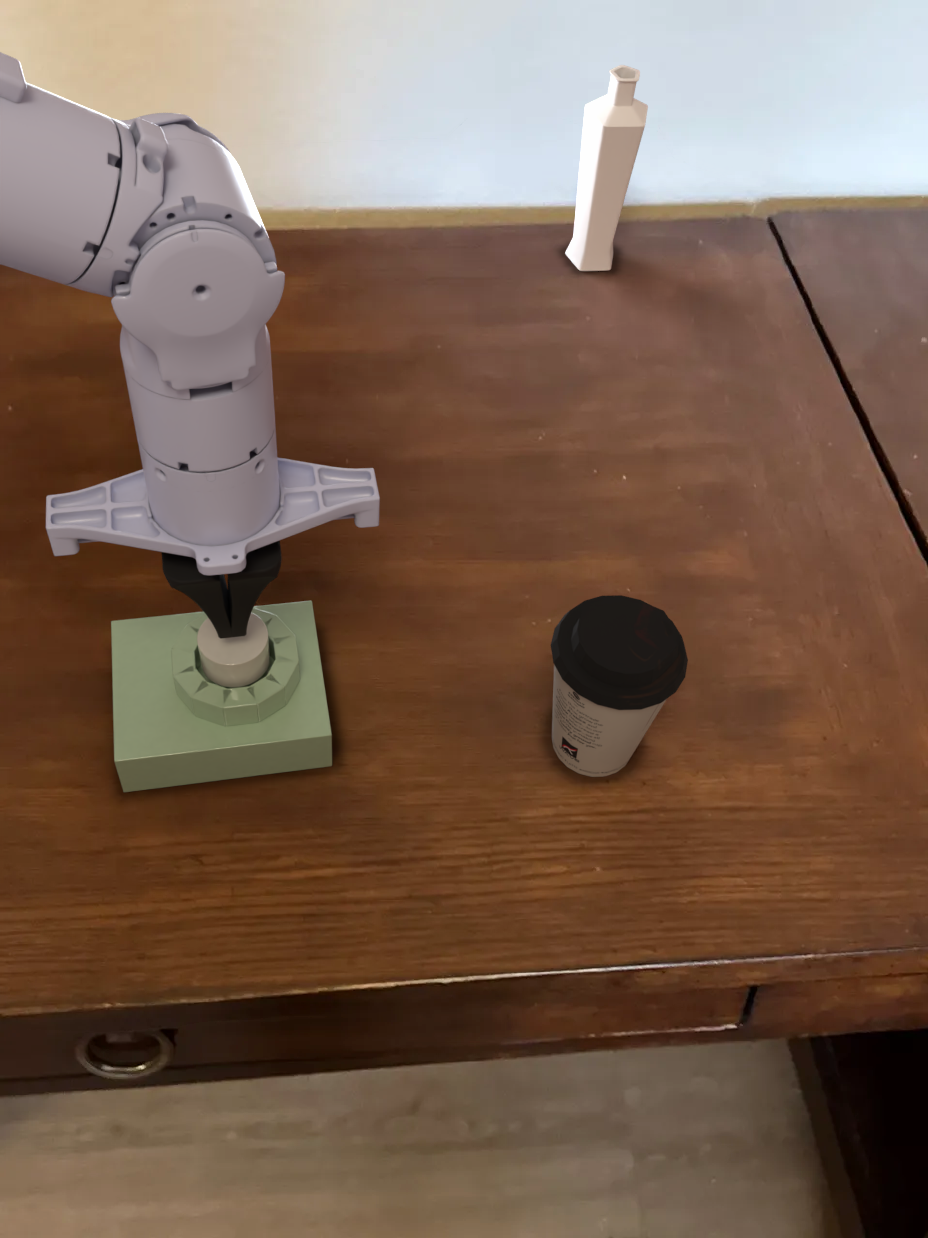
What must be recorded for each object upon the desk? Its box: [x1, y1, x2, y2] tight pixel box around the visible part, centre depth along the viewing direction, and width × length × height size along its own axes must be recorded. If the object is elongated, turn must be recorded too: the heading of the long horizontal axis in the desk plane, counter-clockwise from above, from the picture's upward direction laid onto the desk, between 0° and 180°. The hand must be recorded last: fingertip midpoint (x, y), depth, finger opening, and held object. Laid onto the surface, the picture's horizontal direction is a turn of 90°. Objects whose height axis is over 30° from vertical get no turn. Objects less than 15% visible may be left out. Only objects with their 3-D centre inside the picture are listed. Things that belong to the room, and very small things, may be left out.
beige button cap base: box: [110, 600, 333, 793], centre depth 65 cm, size 11×9×5 cm
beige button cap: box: [197, 612, 270, 687], centre depth 63 cm, size 4×4×2 cm
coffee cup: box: [550, 594, 689, 778], centre depth 64 cm, size 7×7×10 cm
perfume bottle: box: [564, 64, 649, 272], centre depth 89 cm, size 5×4×15 cm
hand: (231, 621), depth 61 cm, fingers closed
